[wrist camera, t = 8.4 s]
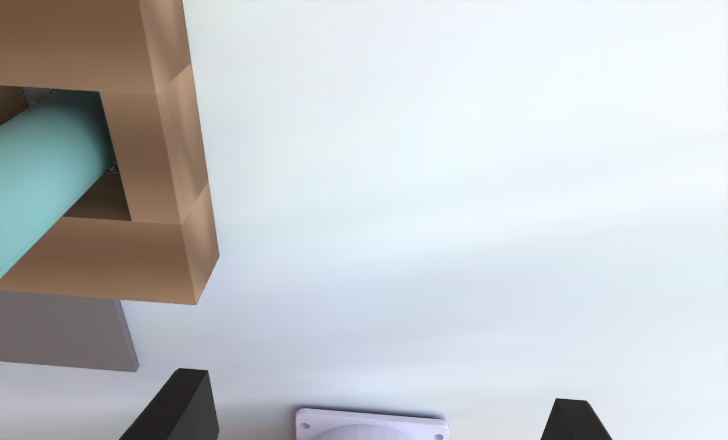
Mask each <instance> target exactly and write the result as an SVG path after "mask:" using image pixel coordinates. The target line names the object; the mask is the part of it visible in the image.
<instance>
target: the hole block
mask: <svg viewBox="0 0 728 440" xmlns="http://www.w3.org/2000/svg"><path fill="white" fill-rule="evenodd" d="M22 87H36V88H52V89H68V90H84V91H99V92H100V96H101V100H102V104H103V108H104V112H105V116H106V120H107V124H108V128H109V132H110V136H111V140H112V144H113V148H114V152H115V156H116V160H117V164H118V168H119V172H120V175H112V174H103V175H102V176H101V177H100V178H99V179H98V180H97V181H96V182H95V183H94V184H93V185H92V186H91V187H90V188H89V189H88V190H87V191H86V192H85V193H84V194H83V195H82V196H81V197H80V198H79V199H78V200H77V201H76V202H75V203H74V204H73V205H72V206H71V207H70V208H69V209H68V210H67V211H66V212H65V213H64V214H63V215H62V216H61V217H60V218H59V219H58V221H57V222H56V223H55V224H54V225H53V226H52V227H51V228H50V229H49V230H48V231H47V232H46V233H45V234H44V235H43V236H42V237H41V238H40V239H39V240H38V241H37V242H36V243H35V244H34V245H33V246H32V247H31V248H30V249H29V250H28V251H27V252H26V253H25V254H24V255H23V256H22V257H21V258H20V259H19V260H18V261H17V262H16V263H15V264H14V265H13V266H12V267H11V268H10V269H9V270H8V271H7V272H6V273H5V274H4V275H3V276H2V277H1V278H0V290H3V291H16V292H29V293H42V294H56V295H69V296H82V297H95V298H108V299H122V300H135V301H148V302H161V303H174V304H187V305H196V304H197V302H198V300H199V298H200V296H201V294H202V292H203V290H204V288H205V286H206V283H207V281H208V279H209V277H210V275H211V273H212V271H213V269H214V267H215V265H216V262H217V260H218V258H219V251H218V244H217V237H216V230H215V223H214V216H213V209H212V203H211V196H210V189H209V182H208V175H207V168H206V161H205V154H204V147H203V141H202V134H201V127H200V120H199V113H198V106H197V99H196V92H195V86H194V79H193V72H192V65H191V58H190V51H189V44H188V37H187V30H186V24H185V17H184V10H183V3H182V0H0V126H1V125H3V124H4V123H6V122H7V121H9V120H10V119H12V118H14V117H15V116H17V115H18V114H20V113H21V112H23V111H24V110H26V109H28V105H27V102H26V99H25V96H24V93H23V90H22Z"/></svg>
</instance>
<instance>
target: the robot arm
mask: <svg viewBox="0 0 728 440" xmlns="http://www.w3.org/2000/svg"><path fill="white" fill-rule="evenodd" d="M295 424H296V440H448V435H449V424H448V423H447V422H446V421H444V420H441V419H430V418H417V417H405V416H393V415H381V414H369V413H357V412H344V411H332V410H320V409H308V408H302V409H299V410H298V411H297V413H296V417H295ZM218 433H219V426H218V421H217V415H216V410H215V405H214V399H213V394H212V389H211V384H210V378H209V373H208V370H197V369H184V368H179V369H178V370H176V371H175V372H174V373H173V374H172V376H171V377H170V378H169V380H168V381H167V382H166V383H165V385H164V386H163V387H162V388H161V390H160V391H159V392H158V393H157V395H156V396H155V397H154V398H153V400H152V401H151V402H150V403H149V404H148V406H147V407H146V408H145V409H144V411H143V412H142V413H141V414H140V415H139V417H138V418H137V419H136V420H135V421H134V423H133V424H132V425H131V426H130V427H129V428H128V430H127V431H126V432H125V433H124V434H123V435H122V436H121V438H120V439H119V440H217V438H218ZM541 440H612V438H611V437H610V435H609V433H608V432H607V430H606V429H605V427H604V426H603V424H602V423H601V421H600V420H599V418H598V416H597V415H596V413H595V412H594V410H593V409H592V407H591V405H590V404H589V403H588V402H587V401H584V400H571V399H559V398H556V400H555V403H554V405H553V408H552V411H551V413H550V416H549V419H548V421H547V424H546V426H545V429H544V432H543V434H542V437H541Z"/></svg>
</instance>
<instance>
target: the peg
mask: <svg viewBox="0 0 728 440" xmlns="http://www.w3.org/2000/svg"><path fill="white" fill-rule="evenodd" d="M116 161H117V160H116V156H115V152H114V148H113V144H112V140H111V136H110V132H109V128H108V124H107V120H106V116H105V112H104V108H103V104H102V100H101V96H100V92H99V91H84V90H68V89H57V90H56V91H54V92H52V93H51V94H49V95H48V96H46V97H45V98H43V99H42V100H40V101H38V102H37V103H35V104H34V105H32V106H31V107H29V108H28V109H26V110H24V111H23V112H21V113H20V114H18V115H17V116H15V117H14V118H12V119H10V120H9V121H7V122H6V123H4V124H3V125H1V126H0V278H1V277H2V276H3V275H4V274H5V273H6V272H7V271H8V270H9V269H10V268H11V267H12V266H13V265H14V264H15V263H16V262H17V261H18V260H19V259H20V258H21V257H22V256H23V255H24V254H25V253H26V252H27V251H28V250H29V249H30V248H31V247H32V246H33V245H34V244H35V243H36V242H37V241H38V240H39V239H40V238H41V237H42V236H43V235H44V234H45V233H46V232H47V231H48V230H49V229H50V228H51V227H52V226H53V225H54V224H55V223H56V222H57V221H58V219H59V218H60V217H61V216H62V215H63V214H64V213H65V212H66V211H67V210H68V209H69V208H70V207H71V206H72V205H73V204H74V203H75V202H76V201H77V200H78V199H79V198H80V197H81V196H82V195H83V194H84V193H85V192H86V191H87V190H88V189H89V188H90V187H91V186H92V185H93V184H94V183H95V182H96V181H97V180H98V179H99V178H100V177H101V176H102V175H103V174H104V173H105V172H106V171H107V170H108V169H109V168H110V167H111V166H112V165H113V164H114V163H115V162H116Z"/></svg>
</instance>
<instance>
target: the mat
mask: <svg viewBox="0 0 728 440" xmlns="http://www.w3.org/2000/svg"><path fill="white" fill-rule="evenodd" d="M0 361H3V362H15V363H28V364H40V365H53V366H65V367H77V368H90V369H102V370H115V371H127V372H136V371H137V369H138V367H139V364H138V361H137V357H136V354H135V351H134V347H133V344H132V340H131V337H130V334H129V330H128V327H127V324H126V320H125V317H124V313H123V310H122V307H121V303H120V300H119V299H108V298H95V297H82V296H69V295H56V294H42V293H29V292H16V291H3V290H0Z"/></svg>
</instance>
